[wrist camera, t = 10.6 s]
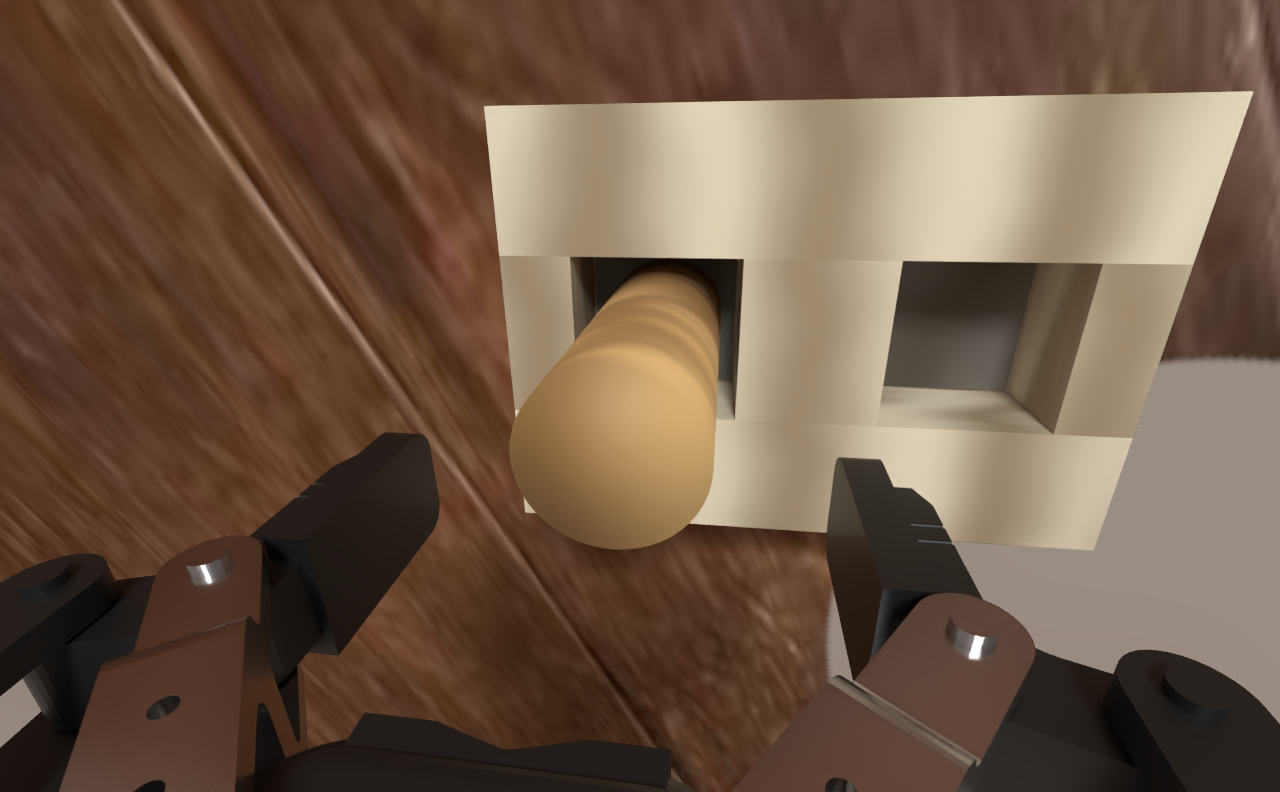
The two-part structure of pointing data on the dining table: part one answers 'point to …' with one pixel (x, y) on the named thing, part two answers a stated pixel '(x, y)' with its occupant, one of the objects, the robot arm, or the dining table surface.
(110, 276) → the dining table surface
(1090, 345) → the hole block
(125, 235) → the dining table surface
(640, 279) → the peg
